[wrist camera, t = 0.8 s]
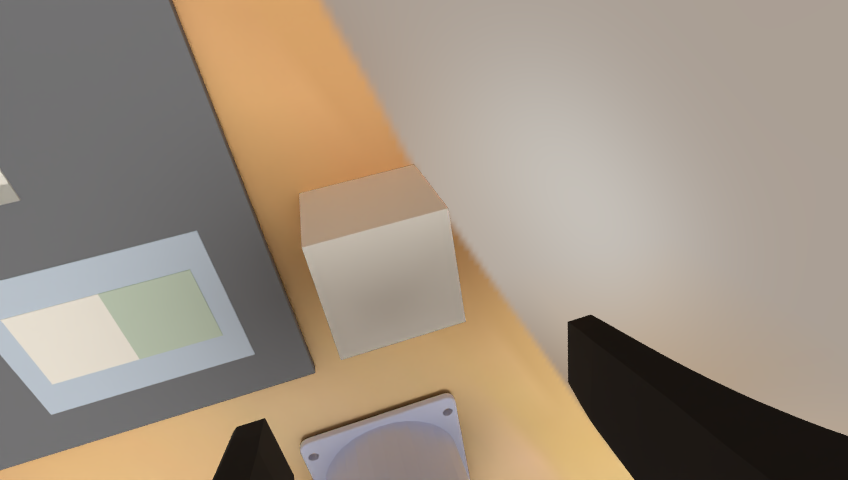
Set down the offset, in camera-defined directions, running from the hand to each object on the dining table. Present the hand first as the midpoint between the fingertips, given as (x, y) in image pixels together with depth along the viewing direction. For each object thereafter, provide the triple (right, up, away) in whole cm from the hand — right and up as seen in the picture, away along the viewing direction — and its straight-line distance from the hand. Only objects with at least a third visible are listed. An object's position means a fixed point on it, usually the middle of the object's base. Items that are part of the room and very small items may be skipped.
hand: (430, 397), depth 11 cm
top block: (-2, +4, +8) cm, 9 cm away
